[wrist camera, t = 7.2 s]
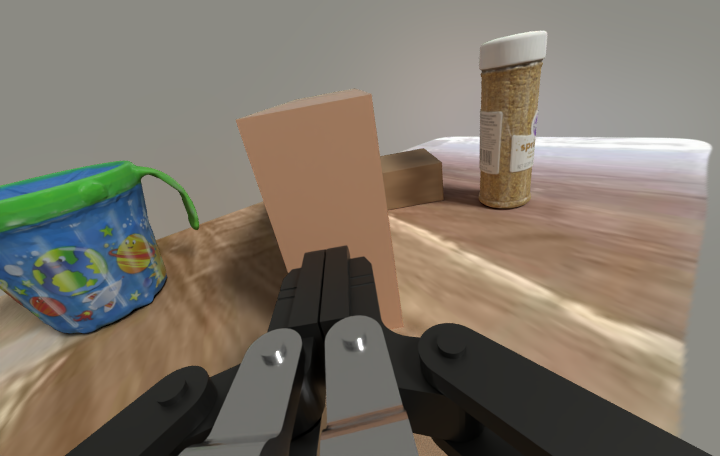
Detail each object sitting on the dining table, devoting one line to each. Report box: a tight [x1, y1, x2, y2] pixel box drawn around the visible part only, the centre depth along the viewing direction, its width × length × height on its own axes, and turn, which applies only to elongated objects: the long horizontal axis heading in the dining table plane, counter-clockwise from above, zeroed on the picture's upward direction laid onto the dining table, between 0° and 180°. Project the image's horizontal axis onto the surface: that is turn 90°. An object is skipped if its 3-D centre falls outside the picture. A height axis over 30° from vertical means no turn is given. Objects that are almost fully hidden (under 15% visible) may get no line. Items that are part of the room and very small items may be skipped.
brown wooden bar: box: [380, 148, 443, 210], centre depth 33 cm, size 18×7×4 cm, turn 93°
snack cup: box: [0, 161, 199, 333], centre depth 21 cm, size 16×10×10 cm
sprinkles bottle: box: [479, 31, 547, 208], centre depth 25 cm, size 5×5×13 cm
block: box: [236, 89, 404, 329], centre depth 21 cm, size 5×16×12 cm, turn 3°
